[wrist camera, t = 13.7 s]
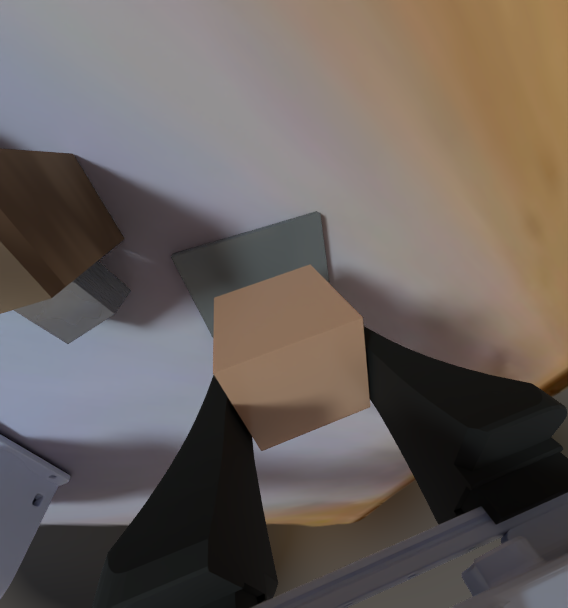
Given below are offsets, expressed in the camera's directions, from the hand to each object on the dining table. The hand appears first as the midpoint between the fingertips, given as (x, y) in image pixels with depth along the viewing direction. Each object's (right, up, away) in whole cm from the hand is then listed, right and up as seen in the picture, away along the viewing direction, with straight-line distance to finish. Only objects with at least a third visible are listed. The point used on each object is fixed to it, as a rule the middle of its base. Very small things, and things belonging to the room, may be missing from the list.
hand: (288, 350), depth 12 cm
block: (-1, +1, +1) cm, 2 cm away
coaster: (-2, +3, +5) cm, 6 cm away
